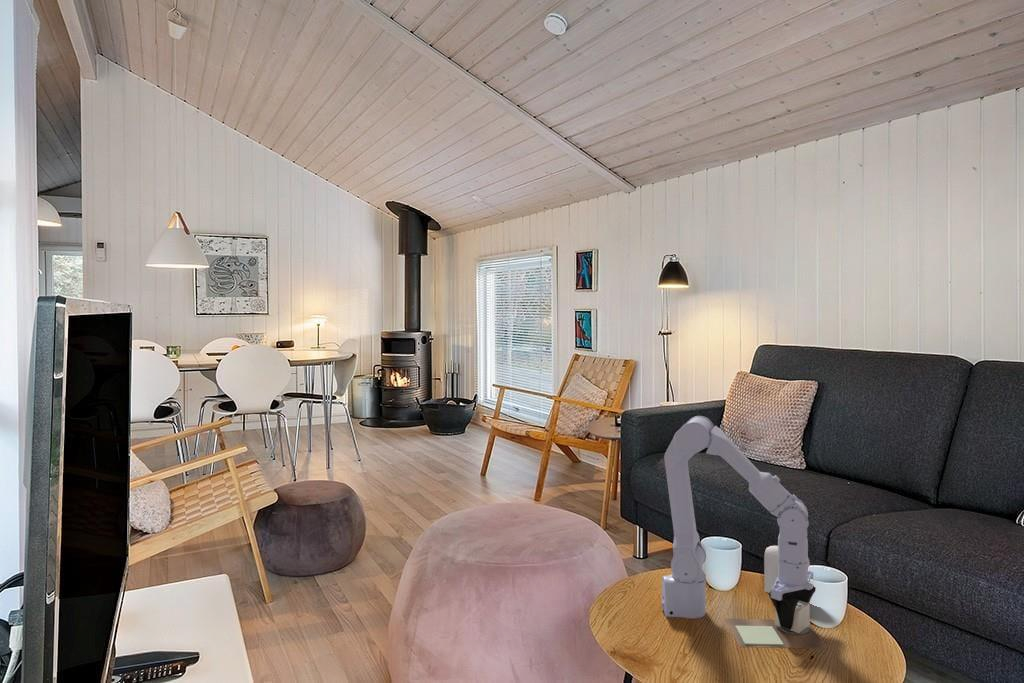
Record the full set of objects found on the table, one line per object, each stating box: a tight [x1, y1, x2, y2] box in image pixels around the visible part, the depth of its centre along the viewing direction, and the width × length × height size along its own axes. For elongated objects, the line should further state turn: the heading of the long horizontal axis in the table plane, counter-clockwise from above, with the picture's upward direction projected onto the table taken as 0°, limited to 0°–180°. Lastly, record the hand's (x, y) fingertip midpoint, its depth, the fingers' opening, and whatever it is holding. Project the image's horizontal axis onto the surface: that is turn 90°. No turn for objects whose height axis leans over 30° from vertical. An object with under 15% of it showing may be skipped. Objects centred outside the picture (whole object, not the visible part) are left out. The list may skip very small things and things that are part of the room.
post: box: [776, 625, 809, 635], centre depth 141 cm, size 6×6×4 cm
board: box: [724, 618, 829, 650], centre depth 139 cm, size 17×12×1 cm
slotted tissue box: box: [774, 600, 811, 633], centre depth 141 cm, size 5×5×5 cm
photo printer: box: [763, 545, 811, 594], centre depth 156 cm, size 10×4×12 cm, turn 39°
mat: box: [735, 626, 784, 646], centre depth 137 cm, size 8×8×1 cm
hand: (792, 623), depth 141 cm, fingers closed on slotted tissue box, 5 cm apart
